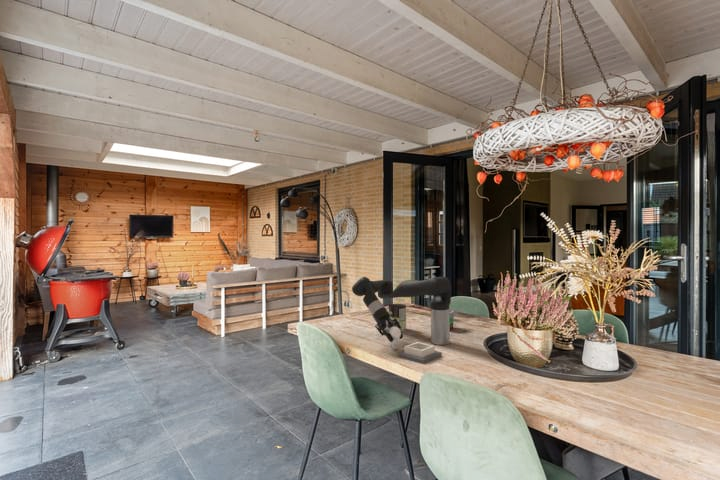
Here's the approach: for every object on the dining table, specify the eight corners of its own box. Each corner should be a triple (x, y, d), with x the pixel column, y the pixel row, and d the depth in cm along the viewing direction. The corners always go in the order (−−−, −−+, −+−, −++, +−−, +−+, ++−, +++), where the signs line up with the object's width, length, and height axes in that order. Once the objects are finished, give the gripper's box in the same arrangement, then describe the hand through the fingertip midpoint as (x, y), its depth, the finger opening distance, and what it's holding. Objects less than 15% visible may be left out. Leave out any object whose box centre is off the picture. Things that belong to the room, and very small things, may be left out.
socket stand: (397, 356, 167) (397, 346, 167) (416, 349, 176) (416, 340, 176) (423, 363, 157) (422, 353, 157) (441, 355, 166) (441, 345, 166)
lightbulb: (391, 352, 173) (391, 328, 173) (385, 348, 179) (385, 326, 179) (403, 350, 175) (403, 327, 175) (397, 346, 181) (396, 324, 181)
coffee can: (390, 332, 210) (390, 307, 210) (387, 327, 220) (386, 304, 220) (408, 331, 211) (408, 306, 211) (404, 326, 221) (403, 303, 221)
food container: (447, 331, 208) (446, 314, 208) (438, 329, 212) (437, 312, 212) (459, 328, 216) (459, 311, 216) (450, 326, 221) (450, 309, 220)
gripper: (384, 313, 191) (402, 340, 183) (364, 318, 181) (382, 347, 173) (391, 304, 187) (410, 332, 179) (372, 309, 177) (391, 338, 169)
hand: (397, 339), depth 176 cm, fingers closed on lightbulb, 6 cm apart
